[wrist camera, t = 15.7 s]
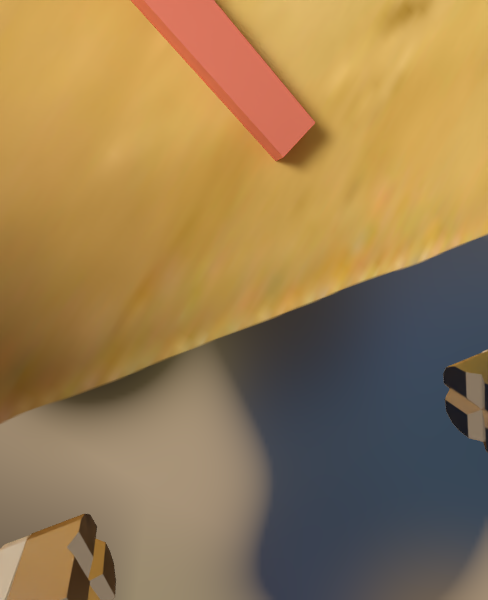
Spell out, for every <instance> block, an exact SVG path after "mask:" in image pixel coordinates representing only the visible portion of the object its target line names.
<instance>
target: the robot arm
mask: <svg viewBox="0 0 488 600" xmlns="http://www.w3.org/2000/svg"><path fill="white" fill-rule="evenodd" d="M443 376H444V384H445V385H446V386H447V387H449V388H450V390H449V392H448V394H447V396H446V398H445V403H446V412H447V413H448V415H449V417H450V419H451V421H452V423H453V424H454V425H455V426H456V427H457V429H458V430H459V431H460V432H462V433H463V434H464V435H466V436H467V437H468V438H471V439H475V440H479V441H482V442H483V443H484V446H485V449H486V451H487V452H488V350H486V351H483V352H482V353H480V354H477V355H475V356H472V357H470V358H468V359H465V360H463V361H460V362H458V363H455V364H453V365H450V366H448V367H446V369H445V371H444V373H443ZM96 530H97V526H96V524H95V522H94V520H93V519H92V517H91V515H89V514H82V515H80V516H77V517H74V518H72V519H69V520H66V521H64V522H61V523H59V524H56V525H53V526H51V527H48V528H45V529H43V530H40V531H37V532H35V533H32V534H31V535H29V536H26V537H23V538H21V539H18V540H15V541H13V542H10V543H7V544H5V545H3V547H2V548H1V549H0V600H113V599H114V598H115V586H116V578H115V569H114V563H113V559H112V556H111V553H110V550H109V548H108V546H107V544H106V543H105V542H103V541H100V540H98V539H96Z"/></svg>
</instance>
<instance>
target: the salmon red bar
mask: <svg viewBox="0 0 488 600" xmlns="http://www.w3.org/2000/svg"><path fill="white" fill-rule="evenodd" d="M131 1H132V2H133V3H134V5H135V6H136V7H137V8H138V9H139V10H140V11H141V12H142V13H143V15H144V16H145V17H146V18H147V19H148V20H149V21H150V22H151V23H152V25H153V26H154V27H155V28H156V29H157V30H158V31H159V32H160V33H161V35H162V36H163V37H164V38H165V39H166V40H167V41H168V42H169V43H170V44H171V46H172V47H173V48H174V49H175V50H176V51H177V52H178V53H179V54H180V56H181V57H182V58H183V59H184V60H185V61H186V62H187V63H188V64H189V66H190V67H191V68H192V69H193V70H194V71H195V72H196V73H197V74H198V76H199V77H200V78H201V79H202V80H203V81H204V82H205V83H206V84H207V86H208V87H209V88H210V89H211V90H212V91H213V92H214V93H215V94H216V95H217V97H218V98H219V99H220V100H221V101H222V102H223V103H224V104H225V105H226V107H227V108H228V109H229V110H230V111H231V112H232V113H233V114H234V115H235V117H236V118H237V119H238V120H239V121H240V122H241V123H242V124H243V125H244V127H245V128H246V129H247V130H248V131H249V132H250V133H251V134H252V135H253V136H254V138H255V139H256V140H257V141H258V142H259V143H260V144H261V145H262V146H263V148H264V149H265V150H266V151H267V152H268V153H269V154H270V155H271V156H272V158H273V159H274V160H275V161H277V160H279V159H281V158H283V157H284V156H285V155H286V154H287V153H288V152H289V151H290V150H291V149H292V148H293V146H294V145H295V144H296V143H297V142H298V141H299V140H300V139H301V138H302V137H303V136H304V135H305V133H306V132H307V131H308V130H309V129H310V128H311V127H312V126H313V125H314V124H315V122H314V120H313V119H312V118H311V117H310V116H309V114H308V113H307V112H306V111H305V110H304V108H303V107H302V106H301V105H300V104H299V102H298V101H297V100H296V99H295V98H294V96H293V95H292V94H291V93H290V91H289V90H288V89H287V88H286V87H285V85H284V84H283V83H282V82H281V81H280V79H279V78H278V77H277V76H276V75H275V73H274V72H273V71H272V70H271V69H270V67H269V66H268V65H267V64H266V63H265V61H264V60H263V59H262V58H261V56H260V55H259V54H258V53H257V52H256V50H255V49H254V48H253V47H252V46H251V44H250V43H249V42H248V41H247V40H246V38H245V37H244V36H243V35H242V34H241V32H240V31H239V30H238V29H237V28H236V26H235V25H234V24H233V23H232V22H231V20H230V19H229V18H228V17H227V15H226V14H225V13H224V12H223V11H222V9H221V8H220V7H219V6H218V5H217V3H216V2H215V1H214V0H131Z"/></svg>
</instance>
